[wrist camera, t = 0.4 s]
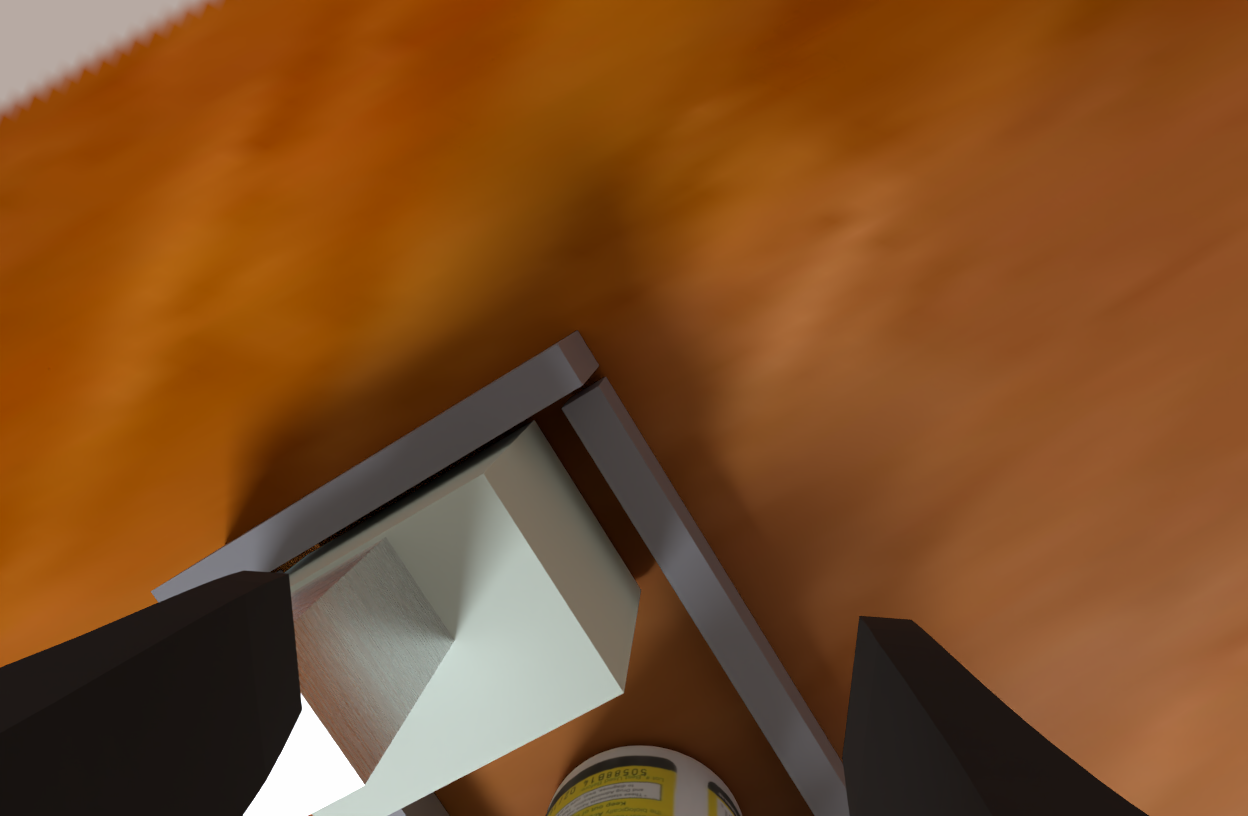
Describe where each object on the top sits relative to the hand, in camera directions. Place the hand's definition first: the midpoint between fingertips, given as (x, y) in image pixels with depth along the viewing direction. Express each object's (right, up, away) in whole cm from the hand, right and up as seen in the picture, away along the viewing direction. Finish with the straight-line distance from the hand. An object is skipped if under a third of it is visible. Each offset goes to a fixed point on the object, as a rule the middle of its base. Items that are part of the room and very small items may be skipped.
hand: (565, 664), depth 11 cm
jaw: (-3, -1, +11) cm, 11 cm away
